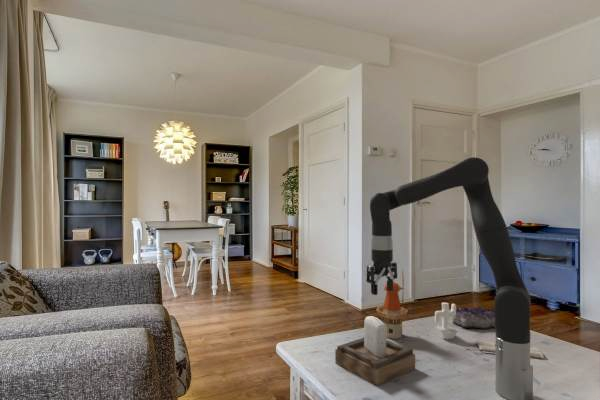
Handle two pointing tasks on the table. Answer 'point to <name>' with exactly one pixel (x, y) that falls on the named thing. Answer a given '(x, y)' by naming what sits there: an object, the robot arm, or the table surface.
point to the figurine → (445, 321)
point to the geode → (474, 318)
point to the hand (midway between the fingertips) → (382, 292)
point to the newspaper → (492, 349)
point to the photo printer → (375, 336)
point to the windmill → (393, 312)
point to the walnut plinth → (372, 372)
